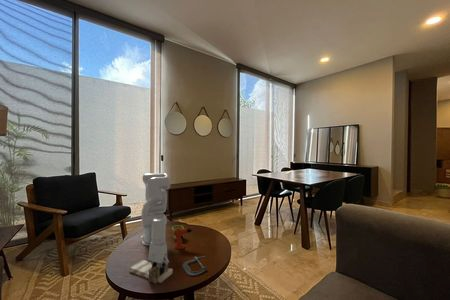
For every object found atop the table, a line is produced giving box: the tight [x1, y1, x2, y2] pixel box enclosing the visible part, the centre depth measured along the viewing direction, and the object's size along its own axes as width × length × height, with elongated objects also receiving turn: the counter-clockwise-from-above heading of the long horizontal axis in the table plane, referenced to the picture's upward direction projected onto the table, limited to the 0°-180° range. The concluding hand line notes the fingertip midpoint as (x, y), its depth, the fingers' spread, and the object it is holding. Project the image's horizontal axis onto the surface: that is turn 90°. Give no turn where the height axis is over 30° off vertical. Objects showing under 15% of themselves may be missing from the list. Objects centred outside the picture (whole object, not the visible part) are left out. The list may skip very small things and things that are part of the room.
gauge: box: [148, 263, 169, 284], centre depth 124 cm, size 5×10×7 cm, turn 154°
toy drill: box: [173, 227, 199, 250], centre depth 162 cm, size 5×19×15 cm, turn 94°
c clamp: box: [181, 255, 208, 277], centre depth 137 cm, size 20×17×3 cm
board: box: [129, 259, 174, 283], centre depth 129 cm, size 24×10×3 cm, turn 64°
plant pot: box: [171, 225, 185, 240], centre depth 179 cm, size 9×9×9 cm
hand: (158, 271), depth 124 cm, fingers closed on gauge, 4 cm apart
